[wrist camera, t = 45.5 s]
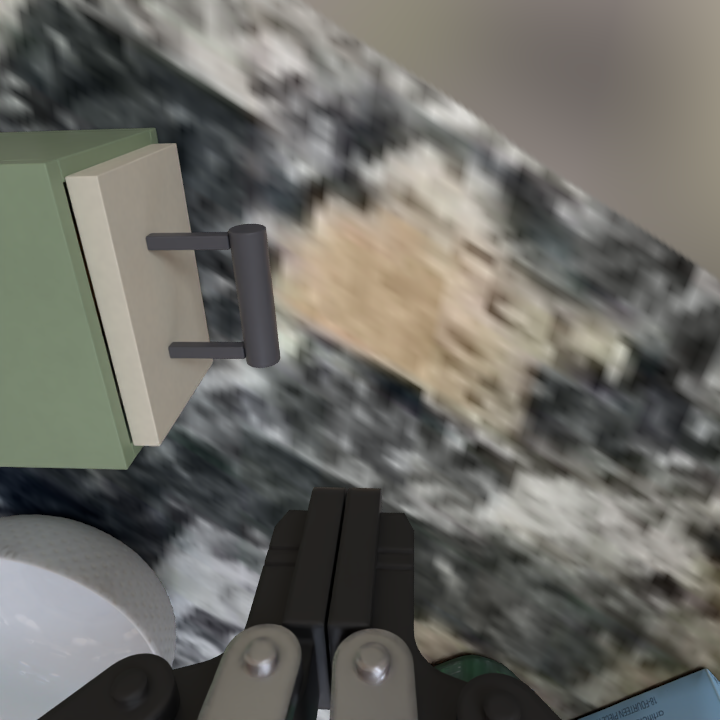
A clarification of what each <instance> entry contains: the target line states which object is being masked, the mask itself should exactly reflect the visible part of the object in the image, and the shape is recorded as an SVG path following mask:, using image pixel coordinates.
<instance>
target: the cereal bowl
mask: <svg viewBox="0 0 720 720" xmlns="http://www.w3.org/2000/svg"><path fill="white" fill-rule="evenodd" d="M176 637H177V636H176V623H175V616H174V613H173V607H172V605H171V603H170V599H169V596H168V595H167V593H166V590H165V588H164V587H163V586H162V583H161V581H160V580H159V578H158V577H157V576H156V574H155V572H154V571H153V570H152V569H151V568H150V567H149V565H148V564H147V563H146V562H145V561H144V560H143V559H142V558H141V557H140V556H139V555H138V554H137V553H136V552H134V551H133V550H132V549H131V548H129V547H128V546H127V545H125V544H123V543H122V542H121V541H119V540H117V539H116V538H114V537H112V536H111V535H110V534H106V533H105V532H103V531H101V530H98V529H97V528H95V527H92V526H90V525H86V524H84V523H82V522H77V521H75V520H71V519H69V518H62V517H55V516H48V515H39V514H38V515H36V514H34V515H13V516H9V517H1V518H0V720H37V719H39V718H40V717H41V716H43V715H44V714H45V713H47V712H48V711H50V710H51V709H52V708H54V707H55V706H56V705H58V704H59V703H61V702H62V701H63V700H65V699H66V698H67V697H69V696H70V695H72V694H73V693H74V692H76V691H77V690H78V689H80V688H81V687H83V686H84V685H85V684H87V683H88V682H89V681H91V680H92V679H93V678H95V677H96V676H98V675H99V674H100V673H102V672H103V671H104V670H106V669H107V668H109V667H110V666H111V665H113V664H114V663H116V662H118V661H119V660H121V659H123V658H126V657H128V656H131V655H136V654H142V653H149V654H155V655H158V656H160V657H162V658H164V659H165V660H166V661H167V662H168V663H169V664H170V666H171V667H172V662H173V660H174V657H175V656H174V652H175V649H176Z"/></svg>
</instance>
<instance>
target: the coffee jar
mask: <svg viewBox="0 0 720 720" xmlns="http://www.w3.org/2000/svg"><path fill="white" fill-rule="evenodd" d="M434 668H436V669H438V670H439V671H441V672H443V673H445V674H447V675H450V676H453V677H455V678H458V679H460V680H463V681H466V682H469V681H470V680H471V679H473V678H475V677H477V676H479V675H482V674H487V673H501V674H506V675H509V676H512V677H514V678H517V677H516V676H515V674H514V673H513V672H512V671H510V670H509V669H508V668H507V667H505V666H504V665H503V664H501V663H498V662H496V661H494V660H492V659H489V658H485V657H481V656H478V655H465V656H461V657H458V658H455V659H452V660H449V661H447V662H444V663H442V664H439V665H437V666H434ZM517 679H519V678H517Z"/></svg>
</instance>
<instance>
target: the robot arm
mask: <svg viewBox="0 0 720 720" xmlns="http://www.w3.org/2000/svg"><path fill="white" fill-rule="evenodd" d="M318 709H328V710H330V720H561V719H560V718H559V717H558V716H557V715H556V714H555V713H554V712H553V710H552V709H551V708H550V707H549V706H548V705H547V704H546V703H545V702H544V701H543V700H542V699H541V698H540V697H539V696H538V695H537V694H536V693H535V692H534V691H533V690H532V689H531V688H530V687H529V686H527V685H526V684H525V683H523V682H522V681H520V680H519V679H517V678H514V677H512V676H509V675H506V674H501V673H487V674H482V675H479V676H477V677H475V678H473V679H471V680H470V681H469V682H466V681H463V680H460V679H458V678H455V677H453V676H450V675H447V674H445V673H443V672H441V671H439V670H438V669H436V668H434V667H433V666H432V665H431V664H430V663H428V662H427V661H426V659H425V658H424V657H423V656H422V654H421V653H420V651H419V650H418V647H417V645H416V642H415V639H414V530H413V528H412V526H411V524H410V523H409V521H408V519H407V517H406V515H405V514H404V513H382V491H381V489H375V488H349V489H348V492H347V488H329V487H314V488H313V491H312V495H311V499H310V503H309V508H308V511H302V510H289V511H288V512H287V513H286V514H285V516H284V517H283V518H282V519H281V520H280V521H279V523H278V524H277V525H276V526H275V528H274V532H273V535H272V539H271V542H270V545H269V550H268V552H267V556H266V559H265V565H264V566H263V569H262V573H261V576H260V580H259V583H258V586H257V590H256V593H255V597H254V600H253V604H252V607H251V610H250V614H249V617H248V621H247V624H246V627H245V629H244V631H242V632H241V633H239V634H238V635H237V636H235V637H234V638H233V640H232V641H231V642H230V643H229V644H228V646H227V647H226V649H225V651H224V653H222V654H221V655H219V656H217V657H215V658H213V659H211V660H208V661H205V662H201V663H198V664H194V665H190V666H186V667H182V668H178V669H174V670H172V667H171V666H170V664H169V663H168V662H167V661H166V660H165V659H164V658H162V657H160V656H158V655H155V654H149V653H142V654H136V655H131V656H128V657H126V658H123V659H121V660H119V661H118V662H116V663H114V664H113V665H111V666H110V667H109V668H107V669H106V670H104V671H103V672H102V673H100V674H99V675H98V676H96V677H95V678H93V679H92V680H91V681H89V682H88V683H87V684H85V685H84V686H83V687H81V688H80V689H78V690H77V691H76V692H74V693H73V694H72V695H70V696H69V697H67V698H66V699H65V700H63V701H62V702H61V703H59V704H58V705H56V706H55V707H54V708H52V709H51V710H50V711H48V712H47V713H45V714H44V715H43V716H41V717H40V718H39V719H37V720H316V718H317V711H318Z"/></svg>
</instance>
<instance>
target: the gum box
mask: <svg viewBox="0 0 720 720" xmlns="http://www.w3.org/2000/svg"><path fill="white" fill-rule="evenodd" d="M578 720H720V682H719V681H718V680H717V679H716V678H715V676H714V675H713V674H712V673H711V672H710V671H709V670H708V669H707V668H704V669H702V670H700V671H697V672H695V673H692V674H690V675H687V676H685V677H682V678H680V679H677V680H675V681H672V682H670V683H667V684H665V685H662V686H660V687H658V688H655V689H652V690H650V691H647V692H645V693H642V694H640V695H637V696H635V697H632V698H630V699H627V700H625V701H623V702H620V703H618V704H616V705H613V706H611V707H608V708H606V709H603V710H601V711H598V712H596V713H593V714H591V715H588V716H586V717H583V718H581V719H578Z"/></svg>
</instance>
